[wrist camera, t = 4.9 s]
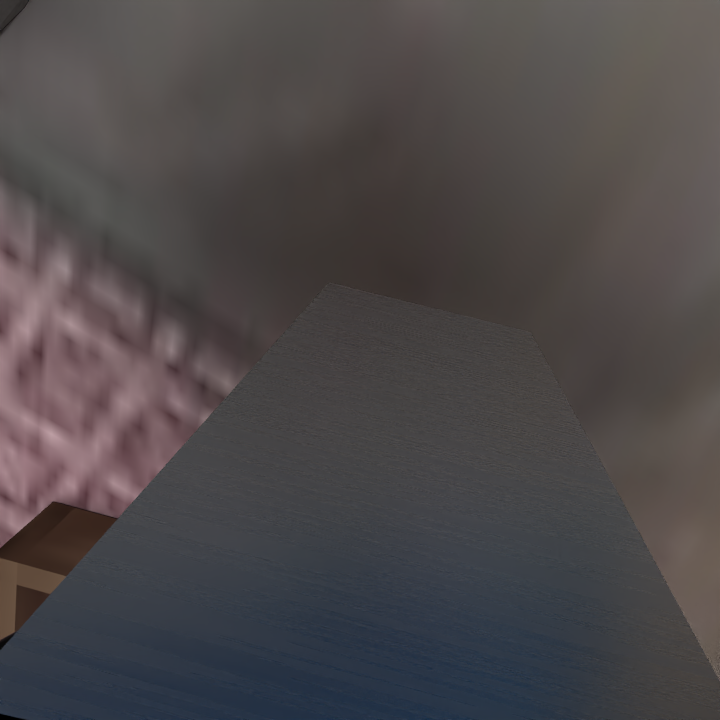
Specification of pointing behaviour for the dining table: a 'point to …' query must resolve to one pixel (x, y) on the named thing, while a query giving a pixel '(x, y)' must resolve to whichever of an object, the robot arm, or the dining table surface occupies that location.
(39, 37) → the dining table surface
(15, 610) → the rack
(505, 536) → the grey metallic rectangular block
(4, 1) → the coffeepot
